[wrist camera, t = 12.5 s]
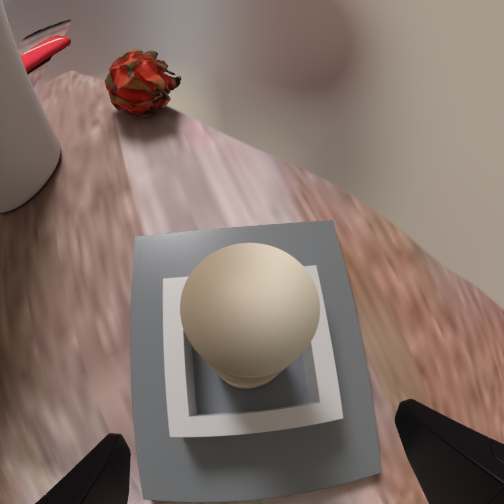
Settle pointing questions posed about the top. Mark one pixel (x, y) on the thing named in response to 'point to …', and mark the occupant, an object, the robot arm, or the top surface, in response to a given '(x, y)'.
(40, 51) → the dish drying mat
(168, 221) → the top surface
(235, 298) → the birch pin
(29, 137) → the cylinder vase
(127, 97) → the dragon fruit
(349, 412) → the socket board
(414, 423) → the robot arm
